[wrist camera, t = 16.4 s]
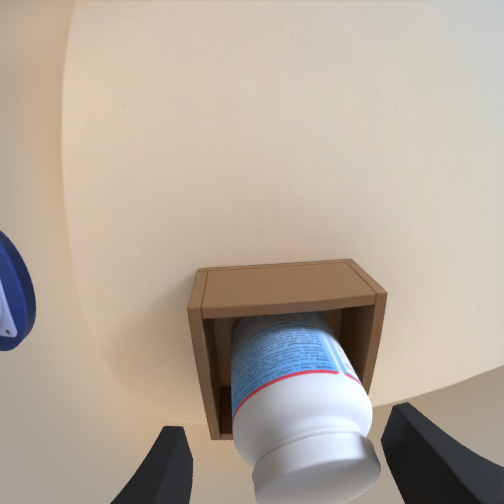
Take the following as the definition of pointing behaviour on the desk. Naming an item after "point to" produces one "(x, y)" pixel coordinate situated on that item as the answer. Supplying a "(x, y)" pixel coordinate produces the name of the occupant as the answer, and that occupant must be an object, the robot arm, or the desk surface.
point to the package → (279, 302)
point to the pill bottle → (299, 411)
